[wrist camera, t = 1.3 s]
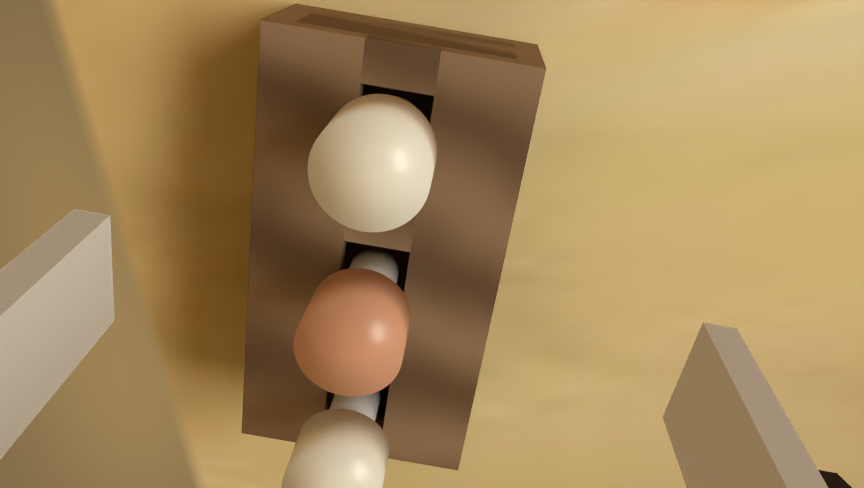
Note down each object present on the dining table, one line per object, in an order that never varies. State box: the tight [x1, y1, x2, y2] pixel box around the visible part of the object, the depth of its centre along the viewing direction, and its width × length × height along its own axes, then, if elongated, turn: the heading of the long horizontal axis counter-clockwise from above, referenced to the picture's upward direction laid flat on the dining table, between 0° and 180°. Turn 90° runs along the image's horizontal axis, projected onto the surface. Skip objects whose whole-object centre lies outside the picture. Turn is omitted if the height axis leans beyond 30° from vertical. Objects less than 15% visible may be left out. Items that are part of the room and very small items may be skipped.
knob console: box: [242, 4, 546, 470], centre depth 37 cm, size 22×12×6 cm, turn 171°
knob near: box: [308, 94, 437, 232], centre depth 28 cm, size 4×4×7 cm
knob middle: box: [293, 249, 411, 397], centre depth 31 cm, size 4×4×7 cm
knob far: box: [282, 391, 389, 488], centre depth 34 cm, size 4×4×7 cm
